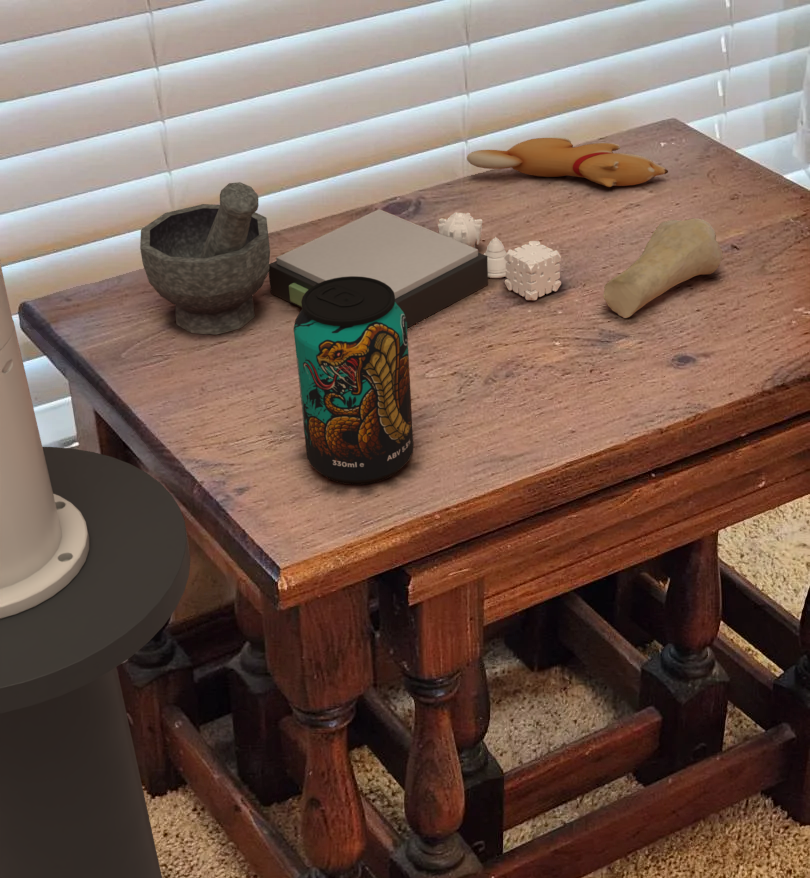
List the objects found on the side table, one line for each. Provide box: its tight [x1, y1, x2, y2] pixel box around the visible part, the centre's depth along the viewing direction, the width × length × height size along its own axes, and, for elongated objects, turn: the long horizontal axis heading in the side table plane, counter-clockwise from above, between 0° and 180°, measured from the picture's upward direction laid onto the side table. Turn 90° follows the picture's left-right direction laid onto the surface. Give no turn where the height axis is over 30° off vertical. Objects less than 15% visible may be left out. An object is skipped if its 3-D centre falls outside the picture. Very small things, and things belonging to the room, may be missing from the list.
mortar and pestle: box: [139, 181, 271, 336], centre depth 115 cm, size 11×9×12 cm
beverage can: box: [293, 276, 414, 486], centre depth 99 cm, size 7×7×12 cm
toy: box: [466, 137, 669, 188], centre depth 134 cm, size 3×17×5 cm
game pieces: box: [437, 212, 563, 301], centre depth 121 cm, size 12×3×3 cm, turn 37°
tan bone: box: [602, 217, 724, 319], centre depth 117 cm, size 11×6×5 cm, turn 150°
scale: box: [268, 208, 489, 329], centre depth 120 cm, size 12×12×3 cm
